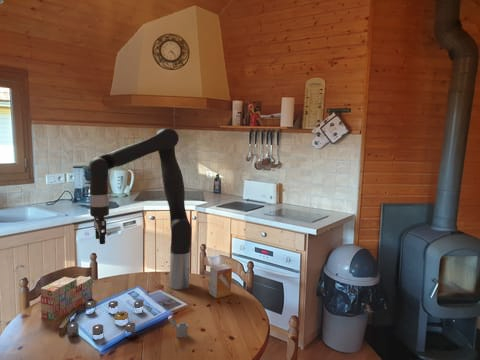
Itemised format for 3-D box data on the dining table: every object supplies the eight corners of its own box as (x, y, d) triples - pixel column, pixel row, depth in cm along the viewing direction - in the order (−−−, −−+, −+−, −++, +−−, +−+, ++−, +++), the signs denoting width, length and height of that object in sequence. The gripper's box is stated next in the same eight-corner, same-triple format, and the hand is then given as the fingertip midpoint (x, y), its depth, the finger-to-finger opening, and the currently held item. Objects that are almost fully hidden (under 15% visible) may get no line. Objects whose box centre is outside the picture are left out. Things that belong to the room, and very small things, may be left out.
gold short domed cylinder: (129, 319, 145) (129, 311, 144) (126, 326, 140) (126, 317, 140) (116, 319, 144) (116, 311, 144) (113, 326, 139) (113, 317, 139)
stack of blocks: (81, 295, 164) (80, 268, 162) (92, 298, 162) (92, 271, 160) (41, 317, 144) (40, 287, 142) (53, 321, 142) (53, 290, 140)
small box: (216, 298, 166) (217, 270, 164) (208, 293, 171) (209, 266, 169) (231, 294, 171) (232, 267, 169) (223, 289, 176) (224, 263, 174)
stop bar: (77, 313, 148) (77, 307, 147) (63, 334, 133) (63, 327, 132) (73, 313, 147) (73, 307, 147) (58, 334, 133) (58, 327, 132)
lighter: (187, 334, 136) (188, 314, 135) (187, 337, 134) (188, 316, 133) (167, 335, 135) (168, 314, 134) (167, 338, 133) (168, 317, 132)
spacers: (143, 309, 153) (143, 300, 153) (134, 339, 131) (134, 329, 131) (84, 310, 151) (84, 300, 150) (64, 340, 129) (64, 330, 128)
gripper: (112, 206, 154) (113, 244, 156) (105, 200, 166) (105, 235, 168) (93, 208, 150) (94, 247, 152) (87, 202, 162) (88, 238, 164)
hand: (100, 241), depth 160 cm, fingers open, 8 cm apart
